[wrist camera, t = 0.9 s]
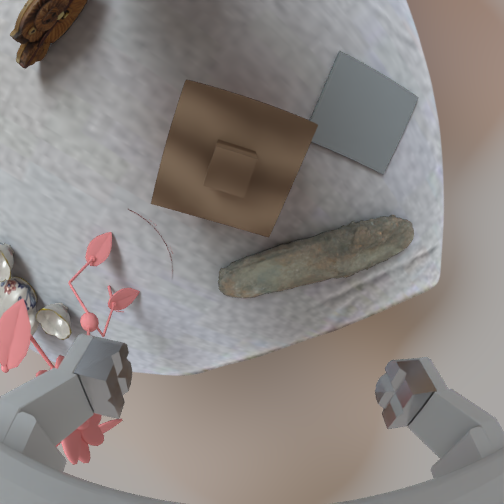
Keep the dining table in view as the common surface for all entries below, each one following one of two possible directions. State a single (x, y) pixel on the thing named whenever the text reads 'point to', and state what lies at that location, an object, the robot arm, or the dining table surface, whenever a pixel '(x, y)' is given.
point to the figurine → (18, 340)
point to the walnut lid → (230, 158)
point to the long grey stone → (317, 257)
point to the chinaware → (30, 300)
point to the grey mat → (361, 113)
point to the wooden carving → (43, 26)
